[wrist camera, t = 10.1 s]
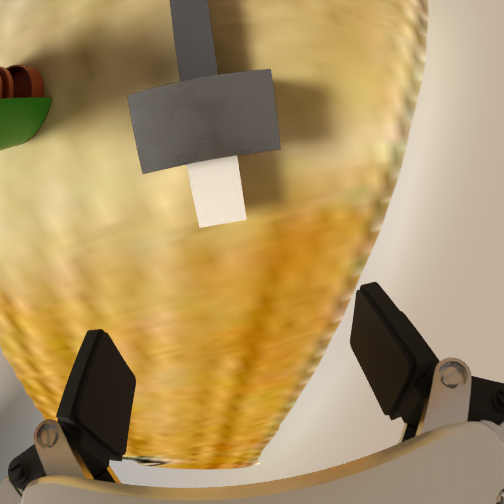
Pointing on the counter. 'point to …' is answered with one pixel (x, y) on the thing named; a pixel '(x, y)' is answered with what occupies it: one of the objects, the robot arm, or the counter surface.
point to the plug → (191, 67)
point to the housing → (204, 119)
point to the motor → (21, 104)
